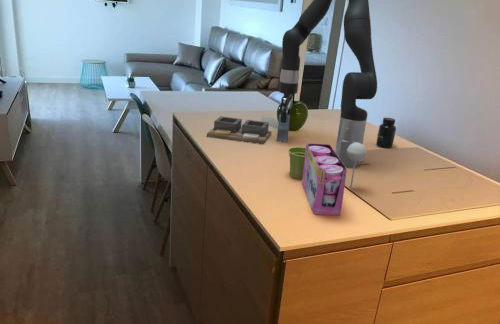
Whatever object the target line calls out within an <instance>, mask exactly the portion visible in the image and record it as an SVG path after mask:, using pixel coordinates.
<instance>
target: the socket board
mask: <svg viewBox="0 0 500 324" xmlns="http://www.w3.org/2000/svg"><path fill="white" fill-rule="evenodd" d="M242 120H243V119H242V118H237V117H228V116H219V117H218V118H217V119H216V120H214V121H213V127H212V129H210V131H208V132H206V138H213V139H220V140H226V139H227V140H228V141H234V140H235V141H236V142H241V141H244V142H243V143H248V142H252V143H251V144H256V143H259V144H258V145H263V144H264V143H265V144H266V142H267V141H268V140H267V139H269V138H270V137H271V135H272V131H271V130H269V126H270V125H269V124H270V122H269V121H261V120H260V121H259V120H252V119H246V120H245V121H244V122H243V121H242ZM242 122H243V124H242ZM269 136H270V137H269ZM268 137H269V138H268ZM266 140H267V141H266ZM235 141H234V142H235ZM265 144H264V145H265Z"/></svg>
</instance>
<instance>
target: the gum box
mask: <svg viewBox="0 0 500 324" xmlns="http://www.w3.org/2000/svg"><path fill="white" fill-rule="evenodd" d="M305 148H306V150H305V160H304V169H303V178H302V179H301V185H302V187H303V189H304V190H303V191H304V193H305V197H306V198H307V201H308V203H309V206H310V209H311V211H312V214H313V215H323V216H324V215H327V216H328V215H329V216H331V215H332V216H341V214H342V213H341V212H342V207H343V200H344V192H345V187H346V186H345V185H346V177H347V167H345V165H344V163H343V162H342V161H341V160H340V159H339V157H338V156H337V154H336V153H335V151H336V150H334V148H333V147H332V145H331V144H327V143H326V144H325V143H323V144H322V143H309V142H308V143H306V146H305Z"/></svg>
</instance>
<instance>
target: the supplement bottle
mask: <svg viewBox="0 0 500 324" xmlns="http://www.w3.org/2000/svg"><path fill="white" fill-rule="evenodd" d="M395 124H396V119H395V118H392V117H383V118H382V123H381V124H380V125H379V126H378V133H377V138H376V142H375V144H376V146H377V147H378V148H382V149H392V148H393V146H394V141H395V136H396V130H397V127H396V126H395Z"/></svg>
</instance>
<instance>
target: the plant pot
mask: <svg viewBox="0 0 500 324" xmlns="http://www.w3.org/2000/svg"><path fill="white" fill-rule="evenodd" d="M305 150H306V146H305V147H303V146H292V147H289V148H288V149H287V152H288V156H289V170H290V171H289V175H290V176H292V178H294V179H299V180H302V178H303V169H304V160H305Z"/></svg>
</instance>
